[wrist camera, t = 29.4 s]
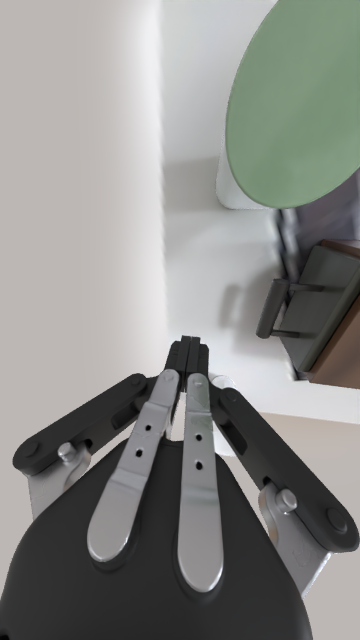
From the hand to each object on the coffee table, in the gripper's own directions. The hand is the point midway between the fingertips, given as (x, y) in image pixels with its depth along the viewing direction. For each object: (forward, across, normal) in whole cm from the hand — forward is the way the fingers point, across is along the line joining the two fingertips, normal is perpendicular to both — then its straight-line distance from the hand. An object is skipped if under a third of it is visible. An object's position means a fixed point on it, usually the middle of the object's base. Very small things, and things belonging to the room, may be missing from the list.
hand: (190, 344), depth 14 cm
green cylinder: (+13, -3, -12) cm, 18 cm away
